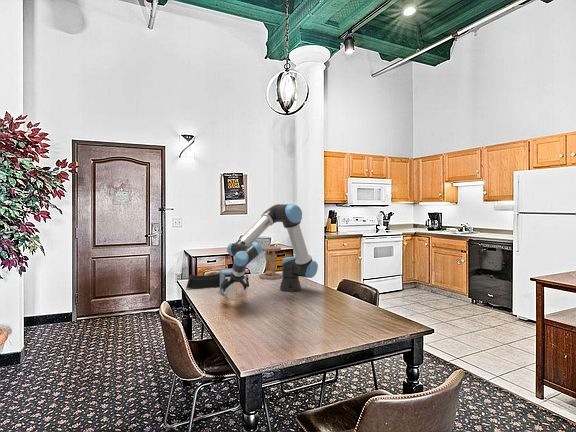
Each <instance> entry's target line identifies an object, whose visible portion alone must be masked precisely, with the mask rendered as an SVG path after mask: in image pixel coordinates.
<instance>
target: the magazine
mask: <svg viewBox="0 0 576 432" xmlns="http://www.w3.org/2000/svg"><path fill="white" fill-rule="evenodd" d="M185 288H186V289H198V290H199V289H200V290H203V289H214V288H220V272H219V273H214V274H206V275H194V274H189V277H188V280H187V283H186V287H185Z"/></svg>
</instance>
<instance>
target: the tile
mask: <svg viewBox="0 0 576 432" xmlns="http://www.w3.org/2000/svg"><path fill="white" fill-rule="evenodd" d="M229 280H230V279H229ZM229 280H228V281H229ZM228 281H227V282H228ZM225 296H226V297H227V299H228V300H229V301H236V300H237V282H234V283H233V284H231V285H230V286H229V287H228V288H227V293H226V295H225Z"/></svg>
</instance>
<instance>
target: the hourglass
mask: <svg viewBox="0 0 576 432" xmlns="http://www.w3.org/2000/svg"><path fill="white" fill-rule="evenodd" d="M261 248H262V251H261V252H265V253H264V257H265V265H264V267H265V271H264V273H260V274H259V279H261V280H265V279H266V280H267V281H269V280H271V281H272V280H273V281H274V280H280V279H282V278H281V277H282V274H280V273H276V265H275V262H276V255H277V253H276V252H279V251H281V250H282V247H281V246H275V245H274V246H272V245H270V246H269V245H267V246H261ZM270 264H271V269H269V268H270Z"/></svg>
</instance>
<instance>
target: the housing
mask: <svg viewBox="0 0 576 432" xmlns="http://www.w3.org/2000/svg"><path fill="white" fill-rule="evenodd" d="M231 272H232V268H228V269H226V268H225V269H224V268H223V269H219V273H220V287H219V291H220V293H221V294H222V296H226V295H225V293H224V291H223V289H221V284H222V282H223V281H224V279H225V276H227V277H230V276H231Z"/></svg>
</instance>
